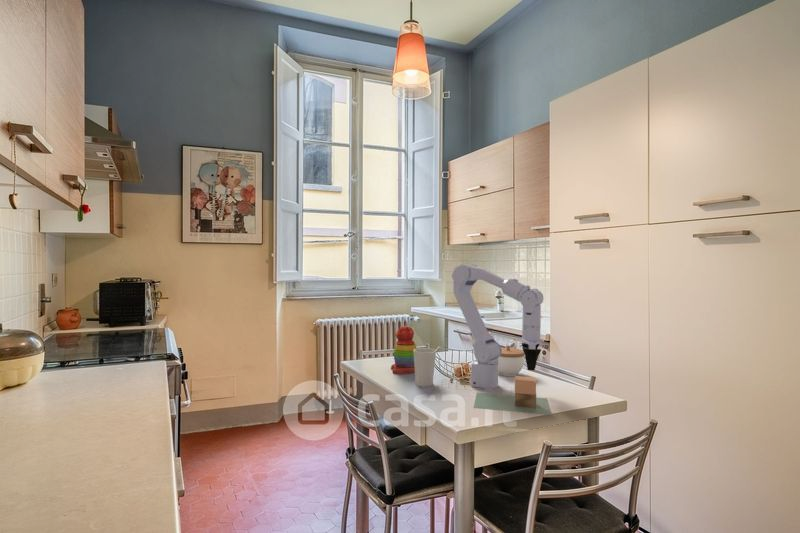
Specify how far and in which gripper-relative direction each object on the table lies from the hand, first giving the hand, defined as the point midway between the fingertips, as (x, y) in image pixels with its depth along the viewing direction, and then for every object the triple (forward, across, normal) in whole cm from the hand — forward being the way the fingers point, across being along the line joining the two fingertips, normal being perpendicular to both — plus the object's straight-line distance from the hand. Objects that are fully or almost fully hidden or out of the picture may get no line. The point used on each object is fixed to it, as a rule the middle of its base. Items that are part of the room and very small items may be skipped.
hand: (530, 367), depth 149 cm
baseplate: (+9, -12, +6) cm, 16 cm away
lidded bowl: (+10, +28, +7) cm, 30 cm away
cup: (+10, +4, +36) cm, 37 cm away
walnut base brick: (+9, -13, +2) cm, 16 cm away
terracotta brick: (+5, -13, +2) cm, 14 cm away
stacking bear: (+10, +21, +47) cm, 52 cm away
